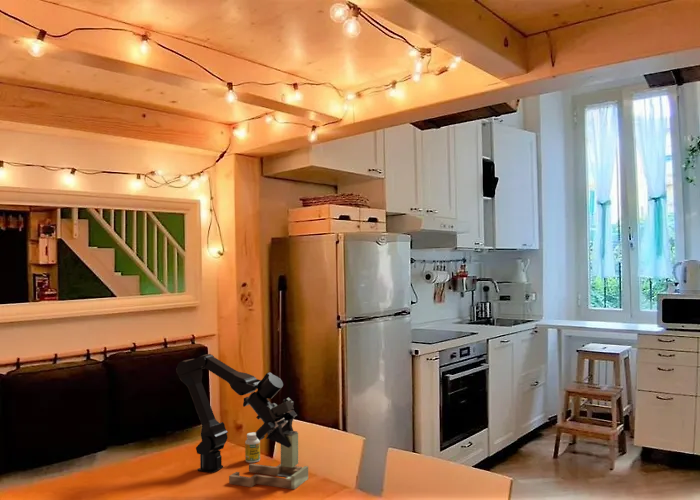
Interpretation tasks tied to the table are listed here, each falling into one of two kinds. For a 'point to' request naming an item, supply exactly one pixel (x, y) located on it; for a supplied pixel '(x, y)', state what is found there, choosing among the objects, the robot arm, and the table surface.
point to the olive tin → (290, 450)
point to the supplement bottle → (252, 448)
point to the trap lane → (291, 482)
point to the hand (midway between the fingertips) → (293, 444)
